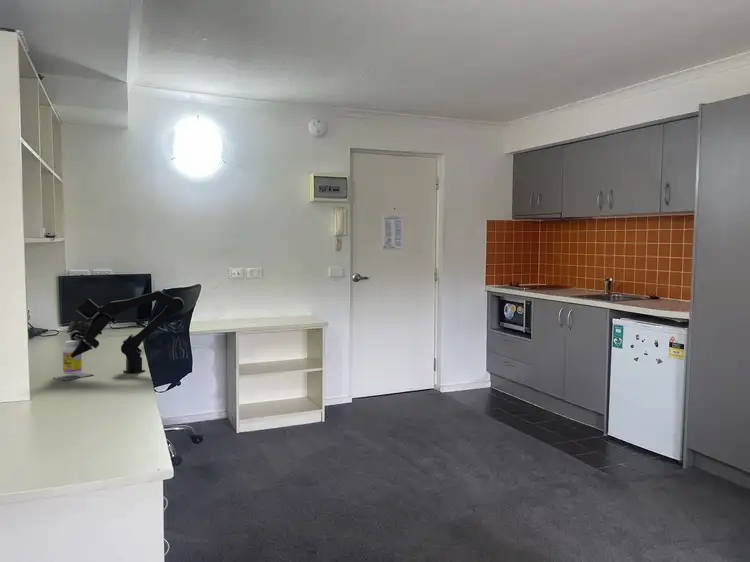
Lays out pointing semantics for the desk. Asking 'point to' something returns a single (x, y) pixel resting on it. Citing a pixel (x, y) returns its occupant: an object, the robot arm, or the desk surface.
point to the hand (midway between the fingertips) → (68, 355)
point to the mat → (72, 376)
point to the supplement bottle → (71, 359)
